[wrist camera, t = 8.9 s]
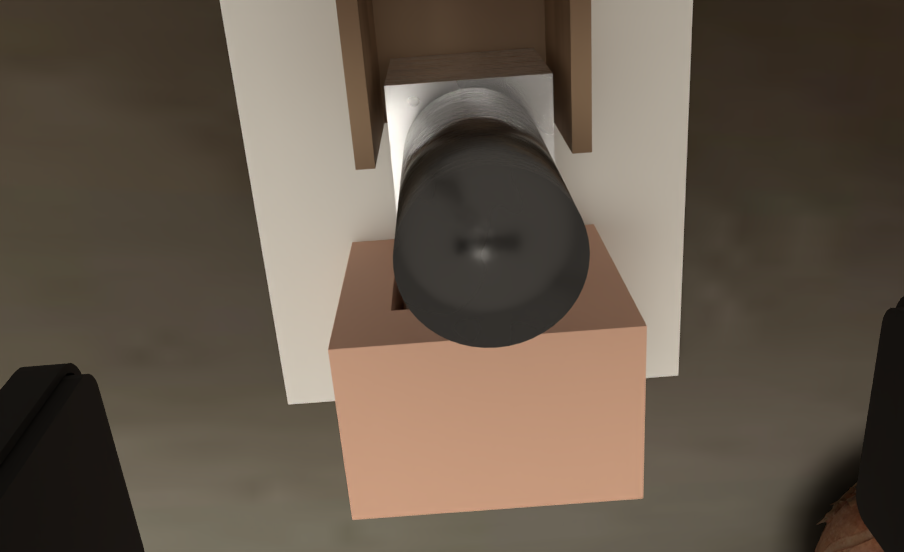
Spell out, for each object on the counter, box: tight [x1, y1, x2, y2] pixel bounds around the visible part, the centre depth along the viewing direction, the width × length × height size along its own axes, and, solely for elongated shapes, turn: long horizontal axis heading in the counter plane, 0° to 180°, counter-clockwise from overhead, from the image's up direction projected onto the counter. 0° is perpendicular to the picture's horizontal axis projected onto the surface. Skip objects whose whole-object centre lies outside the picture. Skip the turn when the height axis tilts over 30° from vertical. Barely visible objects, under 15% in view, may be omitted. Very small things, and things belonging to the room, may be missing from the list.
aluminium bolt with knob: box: [384, 48, 590, 348], centre depth 22 cm, size 10×4×11 cm, turn 4°
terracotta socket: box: [328, 224, 647, 520], centre depth 26 cm, size 5×8×8 cm, turn 94°
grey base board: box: [220, 0, 693, 404], centre depth 27 cm, size 20×14×1 cm
